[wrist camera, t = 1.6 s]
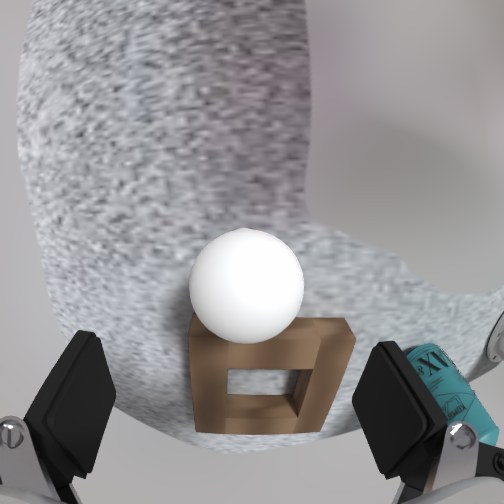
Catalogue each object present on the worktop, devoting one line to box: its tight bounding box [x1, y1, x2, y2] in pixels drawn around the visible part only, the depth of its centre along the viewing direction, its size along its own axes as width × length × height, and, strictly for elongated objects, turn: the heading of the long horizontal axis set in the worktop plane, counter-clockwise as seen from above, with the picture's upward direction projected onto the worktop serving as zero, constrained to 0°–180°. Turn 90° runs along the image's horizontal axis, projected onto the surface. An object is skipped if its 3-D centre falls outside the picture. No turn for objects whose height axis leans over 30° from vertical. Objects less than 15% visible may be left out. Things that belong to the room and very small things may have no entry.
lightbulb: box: [189, 228, 304, 344], centre depth 18 cm, size 6×6×11 cm
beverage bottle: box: [406, 343, 499, 446], centre depth 19 cm, size 6×7×20 cm
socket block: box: [188, 313, 356, 435], centre depth 26 cm, size 14×14×4 cm
